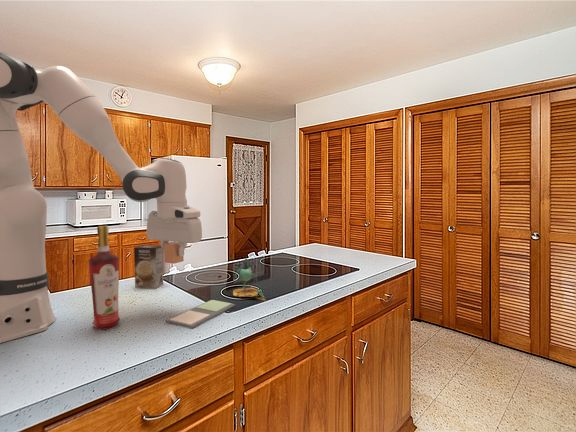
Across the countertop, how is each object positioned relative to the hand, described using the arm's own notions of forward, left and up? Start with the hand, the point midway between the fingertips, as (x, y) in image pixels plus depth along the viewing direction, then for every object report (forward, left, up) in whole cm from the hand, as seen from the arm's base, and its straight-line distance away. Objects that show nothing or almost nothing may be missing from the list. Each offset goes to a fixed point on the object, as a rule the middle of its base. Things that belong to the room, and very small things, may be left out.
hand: (173, 255), depth 104 cm
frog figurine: (+22, -13, -18) cm, 31 cm away
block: (0, 0, -2) cm, 2 cm away
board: (+1, -10, -18) cm, 20 cm away
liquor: (-18, +8, -18) cm, 26 cm away
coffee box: (+15, +29, -18) cm, 37 cm away
